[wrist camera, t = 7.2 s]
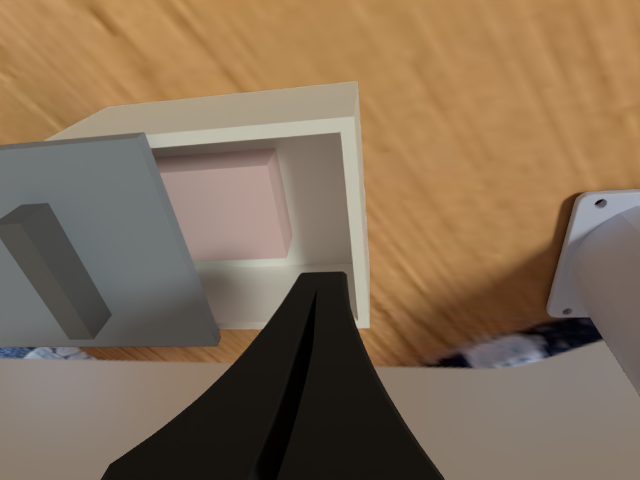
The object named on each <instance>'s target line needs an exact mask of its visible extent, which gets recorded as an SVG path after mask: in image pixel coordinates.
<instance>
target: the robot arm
mask: <svg viewBox="0 0 640 480" xmlns="http://www.w3.org/2000/svg"><path fill="white" fill-rule="evenodd" d="M600 199H603V200H602V202H601V203H599V204H597V205H594V204H595V203H596V202H597V201H598V200H600ZM567 308H568V309H567ZM565 309H567V310H565ZM546 310H547V312H548V314H549V316H551V317H555V318H561V317H590V319H591V320H592V322H593V323H594V325H595V326H596V328H597V330H598V331H599V333H600V334H601V336H602V338H603V339H604V341H605V342H606V344H607V345H608V347H609V348H610V350H611V352H612V353H613V355H614V356H615V358H616V360H617V361H618V363H619V364H620V366H621V368H622V369H623V371H624V372H625V374H626V376H627V377H628V379H629V380H630V382H631V384H632V385H633V387H634V388H635V390H636V391H637V393H638V395H639V396H640V189H629V190H611V191H593V192H585V193H582V194H581V195H579V196H578V197H577V198H576V200H575V202H574V206H573V209H572V213H571V217H570V221H569V224H568V228H567V232H566V236H565V239H564V243H563V247H562V251H561V254H560V258H559V262H558V266H557V269H556V273H555V277H554V281H553V284H552V288H551V292H550V296H549V299H548V303H547V307H546ZM101 480H445V479H444V477H443V476H442V474H441V473H440V472H439V470H438V469H437V468H436V466H435V465H434V464H433V462H432V461H431V460H430V458H429V457H428V456H427V454H426V453H425V451H424V450H423V449H422V447H421V446H420V444H419V443H418V441H417V440H416V438H415V437H414V435H413V434H412V432H411V431H410V429H409V428H408V426H407V425H406V423H405V422H404V420H403V418H402V417H401V415H400V413H399V412H398V410H397V408H396V407H395V405H394V403H393V402H392V400H391V398H390V397H389V395H388V394H387V392H386V390H385V388H384V386H383V384H382V382H381V381H380V379H379V377H378V375H377V373H376V371H375V369H374V367H373V365H372V363H371V360H370V358H369V356H368V354H367V351H366V349H365V347H364V344H363V342H362V339H361V337H360V334H359V332H358V329H357V326H356V323H355V320H354V317H353V314H352V310H351V307H350V299H349V290H348V280H347V274H346V273H344V272H343V271H337V272H305V273H301V274H300V275H299V276H298V278H297V279H296V281H295V283H294V284H293V286H292V288H291V289H290V291H289V292H288V294H287V296H286V297H285V299H284V300H283V302H282V303H281V305H280V306H279V307H278V309H277V310H276V312H275V313H274V314H273V316H272V317H271V319H270V320H269V322H268V323H267V324H266V326H265V327H264V328H263V329H262V331H261V332H260V333H259V334H258V336H257V337H256V338H255V339H254V341H253V342H252V343H251V344H250V346H249V347H248V348H247V349H246V350H245V351H244V353H243V354H242V355H241V356H240V357H239V358H238V359H237V360H236V362H235V363H234V364H233V365H232V366H231V367H230V368H229V369H228V370H227V371H226V372H225V373H224V374H223V375H222V376H221V377H220V378H219V379H218V380H217V381H216V382H215V383H214V384H213V385H212V386H211V387H210V388H209V389H208V390H207V391H206V392H205V393H203V394H202V395H201V396H200V397H199V398H198V399H197V400H195V401H194V402H193V403H192V404H191V405H190V406H188V407H187V408H186V409H185V410H183V411H182V412H181V413H180V414H179V415H177V416H176V417H175V418H174V419H172V420H171V421H170V422H169V423H168V424H166V425H165V426H164V427H163V428H161V429H160V430H158V431H157V432H156V433H154V434H153V435H152V436H150V437H149V438H148V439H146V440H145V441H143V442H142V443H140V444H139V445H137V446H136V447H135V448H133V449H132V450H130V451H129V452H127V453H126V454H125V455H123V456H122V457H120V458H119V459H117V460H116V461H114V462H113V463H111V464H110V465H109V467H108V468H107V470H106V472H105V473H104V475H103V477H102V479H101Z"/></svg>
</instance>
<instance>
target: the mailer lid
mask: <svg viewBox="0 0 640 480" xmlns="http://www.w3.org/2000/svg"><path fill="white" fill-rule="evenodd" d="M220 338H221V335H220V333H219V330H218V327H217V325H216V322H215V319H214V317H213V314H212V311H211V309H210V306H209V303H208V301H207V298H206V295H205V293H204V290H203V287H202V285H201V282H200V279H199V277H198V274H197V271H196V269H195V266H194V263H193V261H192V258H191V255H190V253H189V250H188V247H187V245H186V242H185V239H184V237H183V234H182V231H181V228H180V226H179V223H178V220H177V218H176V215H175V212H174V210H173V207H172V204H171V202H170V199H169V196H168V194H167V191H166V188H165V186H164V183H163V180H162V178H161V175H160V172H159V170H158V167H157V164H156V162H155V159H154V156H153V154H152V151H151V148H150V146H149V143H148V140H147V138H146V135H145V132H140V133H129V134H118V135H107V136H96V137H85V138H74V139H63V140H52V141H41V142H30V143H19V144H8V145H0V347H191V346H218V343H219V341H220Z"/></svg>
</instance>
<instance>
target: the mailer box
mask: <svg viewBox="0 0 640 480" xmlns="http://www.w3.org/2000/svg"><path fill="white" fill-rule="evenodd" d="M140 132H145V135H146V138H147V140H148V143H149V146H150V148H151V151H152V154H153V156H154V159H155V162H156V164H157V167H158V170H159V172H160V175H161V178H162V180H163V183H164V186H165V188H166V191H167V194H168V196H169V199H170V202H171V204H172V207H173V210H174V212H175V215H176V218H177V220H178V223H179V226H180V228H181V231H182V234H183V237H184V239H185V242H186V245H187V247H188V250H189V253H190V255H191V258H192V261H193V263H194V266H195V269H196V271H197V274H198V277H199V279H200V282H201V285H202V287H203V290H204V293H205V295H206V298H207V301H208V303H209V306H210V309H211V311H212V314H213V317H214V319H215V322H216V325H217V327H218V330H228V329H263V328H264V327H265V326H266V324H267V323H268V322H269V320H270V319H271V317H272V316H273V314H274V313H275V312H276V310H277V309H278V307H279V306H280V305H281V303H282V302H283V300H284V299H285V297H286V296H287V294H288V292H289V291H290V289H291V288H292V286H293V284H294V283H295V281H296V279H297V278H298V276H299V275H300V274H301V273H305V272H337V271H343V272H344V273H346V274H347V280H348V290H349V299H350V307H351V310H352V314H353V317H354V320H355V323H356V326H357V328H370V268H369V248H368V233H367V217H366V202H365V186H364V171H363V155H362V140H361V125H360V109H359V94H358V81H351V82H341V83H332V84H322V85H312V86H303V87H293V88H283V89H274V90H264V91H254V92H245V93H235V94H225V95H216V96H206V97H196V98H187V99H177V100H167V101H157V102H148V103H138V104H128V105H119V106H109V107H106V108H104V109H102V110H100V111H98V112H96V113H95V114H93V115H91V116H89V117H87V118H85V119H83V120H81V121H80V122H78V123H76V124H74V125H72V126H70V127H68V128H66V129H65V130H63V131H61V132H59V133H57V134H55V135H53V136H52V137H50V138H48V139H46V140H44V141H52V140H63V139H74V138H85V137H96V136H107V135H118V134H129V133H140Z"/></svg>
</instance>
